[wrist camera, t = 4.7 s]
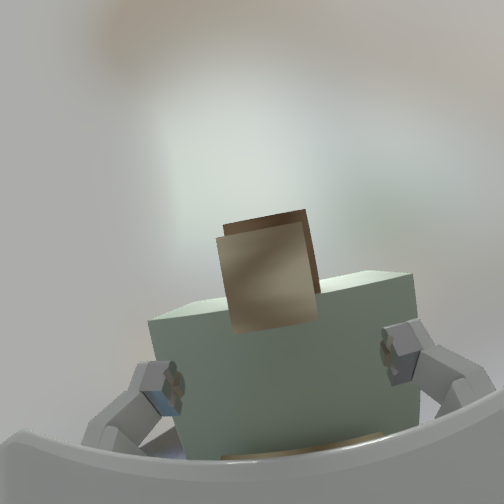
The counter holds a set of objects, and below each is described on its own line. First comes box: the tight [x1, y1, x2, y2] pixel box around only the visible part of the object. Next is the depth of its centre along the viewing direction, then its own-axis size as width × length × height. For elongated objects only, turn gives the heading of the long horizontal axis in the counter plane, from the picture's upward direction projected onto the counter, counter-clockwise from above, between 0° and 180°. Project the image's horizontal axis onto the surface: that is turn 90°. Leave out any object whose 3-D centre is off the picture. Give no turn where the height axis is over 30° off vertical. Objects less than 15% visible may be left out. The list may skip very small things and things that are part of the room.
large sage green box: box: [148, 270, 420, 460], centre depth 25 cm, size 20×12×26 cm, turn 84°
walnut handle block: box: [216, 209, 321, 335], centre depth 20 cm, size 6×16×6 cm, turn 174°
